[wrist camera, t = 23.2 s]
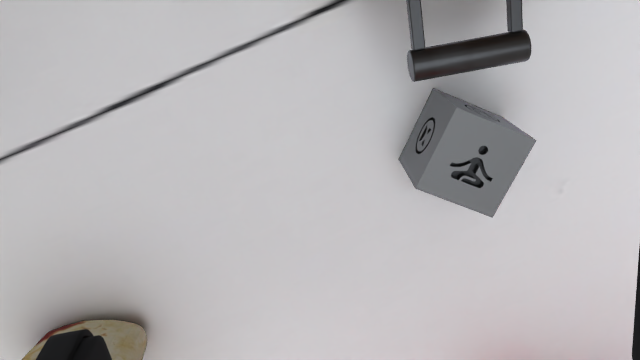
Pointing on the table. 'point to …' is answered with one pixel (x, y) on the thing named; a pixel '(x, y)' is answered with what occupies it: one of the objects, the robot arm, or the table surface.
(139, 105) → the table surface
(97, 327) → the food model
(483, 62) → the drawer
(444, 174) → the dice cube
